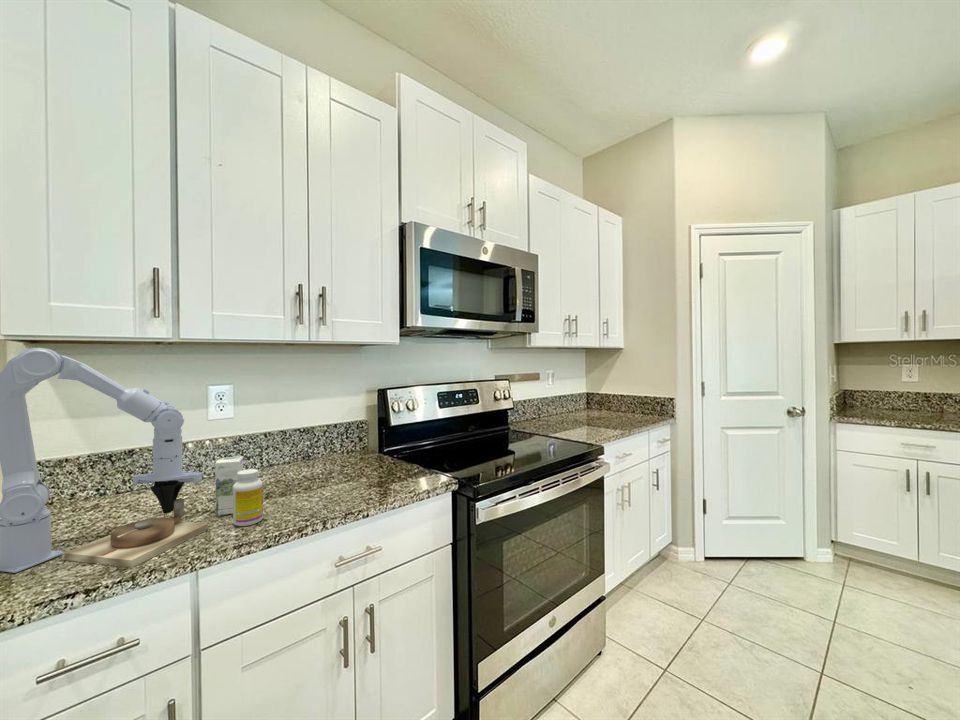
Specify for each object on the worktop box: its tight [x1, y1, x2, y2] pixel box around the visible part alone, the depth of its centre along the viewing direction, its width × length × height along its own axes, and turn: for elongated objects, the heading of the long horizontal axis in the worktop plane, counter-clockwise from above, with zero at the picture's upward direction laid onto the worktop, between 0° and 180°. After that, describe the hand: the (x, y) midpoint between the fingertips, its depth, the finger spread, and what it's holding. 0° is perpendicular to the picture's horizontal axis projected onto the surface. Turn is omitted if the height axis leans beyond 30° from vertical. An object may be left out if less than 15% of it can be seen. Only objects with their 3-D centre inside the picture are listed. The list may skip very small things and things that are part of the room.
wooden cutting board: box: [63, 520, 209, 569], centre depth 91 cm, size 17×18×2 cm
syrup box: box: [214, 455, 244, 517], centre depth 110 cm, size 6×6×14 cm
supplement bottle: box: [232, 468, 264, 527], centre depth 103 cm, size 7×7×13 cm
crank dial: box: [110, 497, 185, 548], centre depth 93 cm, size 15×11×5 cm
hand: (168, 511), depth 99 cm, fingers closed
